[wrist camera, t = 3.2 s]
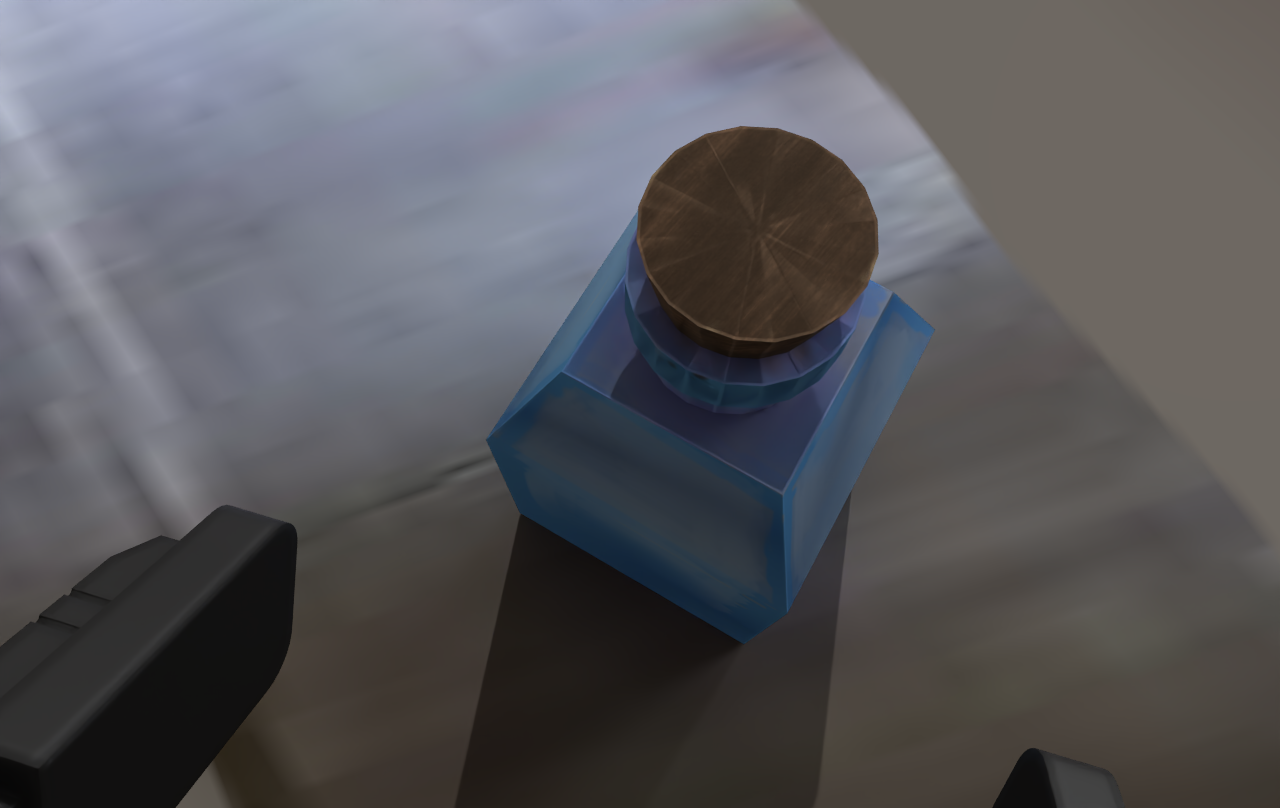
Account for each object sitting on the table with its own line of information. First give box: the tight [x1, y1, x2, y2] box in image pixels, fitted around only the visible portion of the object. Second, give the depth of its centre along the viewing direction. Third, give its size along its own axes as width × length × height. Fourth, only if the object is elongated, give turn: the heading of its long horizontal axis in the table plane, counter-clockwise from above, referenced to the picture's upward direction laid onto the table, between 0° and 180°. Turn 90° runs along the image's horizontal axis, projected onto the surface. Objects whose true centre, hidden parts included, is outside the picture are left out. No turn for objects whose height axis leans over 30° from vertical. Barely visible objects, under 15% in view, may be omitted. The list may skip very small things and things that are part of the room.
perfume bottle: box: [486, 126, 935, 644], centre depth 18 cm, size 6×6×12 cm
